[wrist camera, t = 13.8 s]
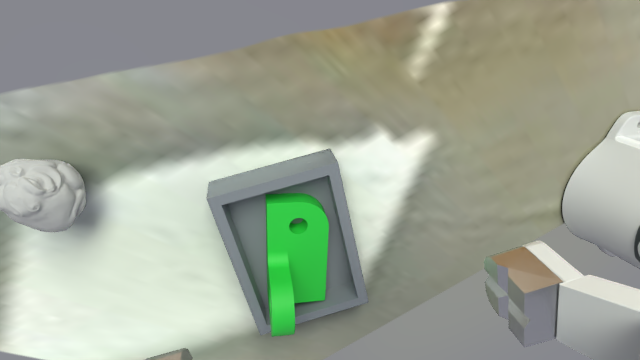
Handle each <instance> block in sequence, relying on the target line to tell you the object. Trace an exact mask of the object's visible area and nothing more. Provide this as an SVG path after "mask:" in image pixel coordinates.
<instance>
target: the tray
mask: <svg viewBox="0 0 640 360" xmlns="http://www.w3.org/2000/svg"><path fill="white" fill-rule="evenodd" d="M282 193H304V194H308V195H311V196H312V197H314V198H316V199H317V200H318V201H319V202H320V203H321V205H322V207H323V209H324V211H325V214H326V217H327V219H328V223H329V233H328V252H327V271H326V290H325V300H322V301H312V302H301V303H294V307H295V325H296V324H299V323H302V322H305V321H309V320H312V319H315V318H319V317H322V316H325V315H328V314H332V313H335V312H338V311H342V310H345V309H348V308H352V307H355V306H358V305H361V304H365V303H368V298H367V293H366V289H365V284H364V279H363V275H362V270H361V266H360V261H359V257H358V252H357V248H356V243H355V239H354V234H353V230H352V225H351V220H350V216H349V211H348V207H347V202H346V198H345V193H344V189H343V184H342V180H341V175H340V171H339V166H338V162H337V160H336V158H335V157H334V155H333V153H332V151H331V150H330V149H327V150H323V151H320V152H316V153H312V154H309V155H305V156H301V157H298V158H294V159H291V160H287V161H283V162H280V163H276V164H273V165H269V166H265V167H262V168H258V169H254V170H251V171H247V172H244V173H240V174H236V175H233V176H229V177H226V178H222V179H218V180H215V181H211V182H209V186H208V193H207V201H208V204H209V206H210V209H211V211H212V214H213V216H214V219H215V221H216V224H217V226H218V229H219V231H220V234H221V236H222V239H223V242H224V244H225V247H226V249H227V252H228V254H229V257H230V259H231V262H232V264H233V267H234V269H235V272H236V274H237V277H238V280H239V282H240V285H241V287H242V290H243V292H244V295H245V297H246V300H247V302H248V305H249V307H250V310H251V312H252V315H253V317H254V320H255V323H256V325H257V328H258V330H259V333H260V335H263V334H266V333H269V332H271V325H270V315H269V304H268V294H267V248H266V197H265V194H282ZM302 221H303V219H302V218H296V219H294V220H292V221H291V222H290V223H293V224H297V223H300V222H302Z"/></svg>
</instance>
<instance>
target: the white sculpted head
mask: <svg viewBox="0 0 640 360" xmlns="http://www.w3.org/2000/svg"><path fill="white" fill-rule="evenodd" d="M85 205H86V191H85V186H84V182H83V179H82V177H81V175H80V174H79V172H78V171H77V170H76V169H75V168H74V167H72V166H71V165H70V164H69V163H65V162H64V161H58V160H33V159H14V160H12V161H9V162H7V163H6V164H4V165H1V166H0V210H1V211H4V212H5V213H6V214H7V215H8V217H9V218H10V219H12V220H14V221H15V222H17V223H20V224H23V225H26V226H29V227H31V228H34V229H37V230H40V231H45V232H59V231H63V230H67V229H68V228H69V227H70V226H71V225H72V224H73V222H74V221H75V218H76V217H78V216H79V215H80V214H81V213H82V211H83V209H84V207H85Z"/></svg>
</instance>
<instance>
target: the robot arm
mask: <svg viewBox="0 0 640 360" xmlns="http://www.w3.org/2000/svg"><path fill="white" fill-rule="evenodd" d="M562 213H563V218H564V222H565V224H566V226H567V228H568V229H569V230H570V231H571V232H572V233H573V234H574V235H575V236H577V237H579V238H581V239H584V240H586V241H589V242H591V243H593V244H596V245H597V246H598V247H599V249H600V250H602V251H603V252H604V253H606V254H608V255H610V256H618V257H619V258H621V259H623V260H625V261H626V262H628V263H630V264H632V265H634V266H636V267H637V268H639V269H640V111H633V112H627V113H624V114H623V115H621V116H620V117H619V118H618V120H617V121H616V122H615V124H614V125H613V127H612V128H611V130H610V131H609V133H608V135H607V136H606V138H605V139H604V140H603V141H602V142H601V143H600V144H599V145H598V146H597V147H596V148H595V149H594V150H592V151H591V152H590V153H589V154H588V155H587V156H586V157H585V158H584V159H583V161H582V162H581V163H580V164H579V166H578V167H577V168H576V170H575V171H574V173H573V175H572V176H571V178H570V180H569V182H568V184H567V187H566V190H565V193H564V197H563V203H562ZM484 269H485V270H486V271H487V273H488V274H489V277H488V278H487V280H486V282H485V286H486V293H487V296H488V299H489V302H490V303H491V305H492V307H493V309H494V310H495V311H496V313H497V314H498V315H499V316H501V317H503V318H505V319H508V320H509V329H510V330H511V332H512V333H513V334H514V335H515V336H516V338H517V339H518V340H519V341H520V343H521V344H522V345H523V346H524V347H528V346H531V345H535V344H538V343H542V342H545V341H549V340H552V339H556V340H557V341H559V342H561V343H563V344H564V345H566V346H568V347H570V348H572V349H574V350H576V351H578V352H580V353H581V354H584V355H585V356H587V357H589V358H591V359H593V360H640V289H636V288H633V287H630V286H626V285H623V284H620V283H617V282H613V281H610V280H606V279H603V278H600V277H596V276H593V275H587V276H583V275H582V274H581V273H580V272H579V271H578V270H576V269H575V268H574V267H573V266H571V265H570V264H569V263H568V262H567V261H565V260H564V259H563V258H562V257H561V256H559V255H558V254H557V253H556V252H554V251H553V250H552V249H551V248H550V247H548V246H547V245H546V244H545V243H544V242H542V241H539V240H538V241H535V242H532V243H528V244H525V245H522V246H520V247H516V248H513V249H510V250H507V251H504V252H500V253H497V254H494V255H491V256H488V257H486V258H485V261H484ZM192 359H193V357H192V356H191V354H190V352H189V350H188V349H186V348H183V349H179V350H176V351H172V352H169V353H165V354H161V355H158V356H154V357H151V358H147V359H145V360H192Z"/></svg>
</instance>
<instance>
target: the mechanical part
mask: <svg viewBox="0 0 640 360" xmlns="http://www.w3.org/2000/svg"><path fill="white" fill-rule="evenodd" d="M265 197H266V248H267V294H268V304H269V315H270V325H271V334H272V337H273V336H283V335H292V334H294V332H295V307H294V303H301V302H312V301H322V300H325V290H326V271H327V252H328V233H329V223H328V219H327V217H326V214H325V211H324V209H323V207H322V205H321V203H320V202H319V201H318V200H317V199H316V198H314V197H312V196H311V195H308V194H304V193H282V194H265ZM296 218H302V219H303V221H302V222H300V223H297V224H293V223H290V222H291V221H292V220H294V219H296Z"/></svg>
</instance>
